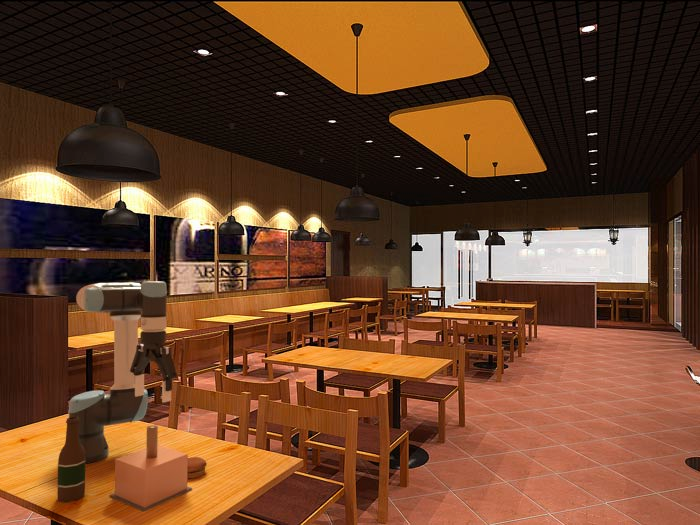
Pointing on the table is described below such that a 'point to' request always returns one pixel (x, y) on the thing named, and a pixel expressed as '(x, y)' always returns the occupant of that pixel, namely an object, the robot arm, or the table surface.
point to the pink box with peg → (150, 472)
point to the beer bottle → (71, 465)
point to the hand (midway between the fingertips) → (152, 398)
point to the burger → (195, 467)
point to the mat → (151, 504)
